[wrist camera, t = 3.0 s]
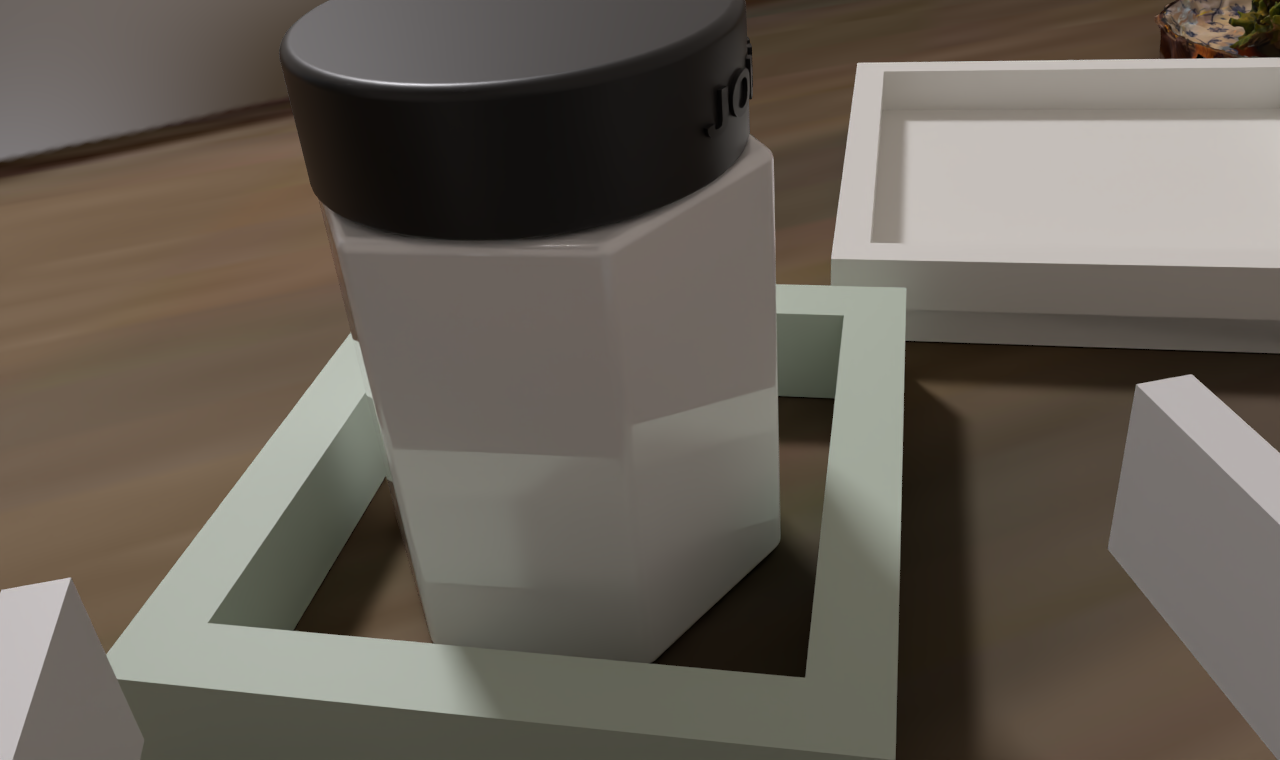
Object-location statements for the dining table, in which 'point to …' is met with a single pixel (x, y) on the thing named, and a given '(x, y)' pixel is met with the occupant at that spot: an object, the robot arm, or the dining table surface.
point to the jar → (554, 303)
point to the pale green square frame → (510, 680)
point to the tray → (1069, 201)
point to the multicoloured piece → (1220, 29)
